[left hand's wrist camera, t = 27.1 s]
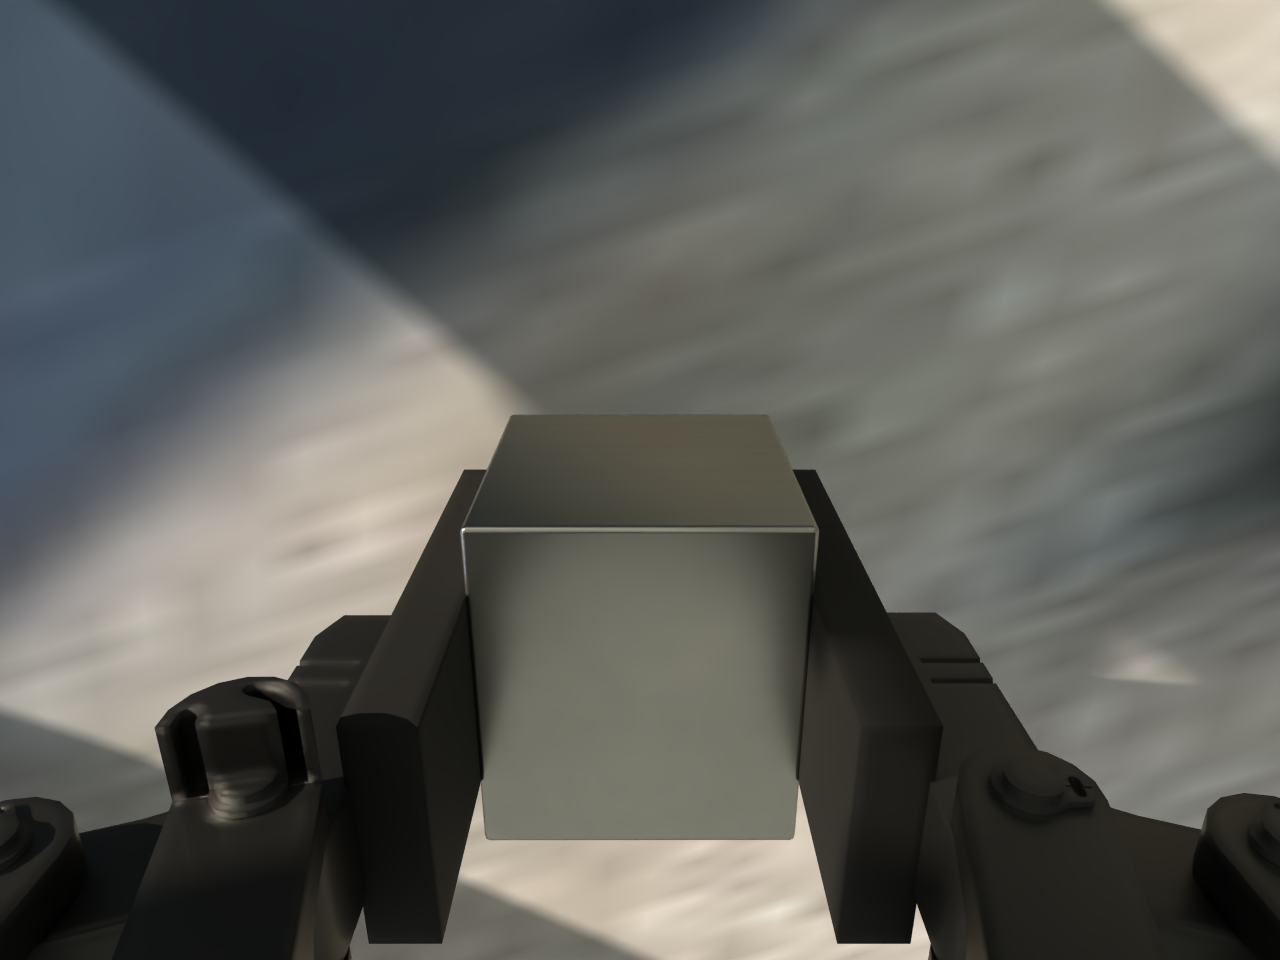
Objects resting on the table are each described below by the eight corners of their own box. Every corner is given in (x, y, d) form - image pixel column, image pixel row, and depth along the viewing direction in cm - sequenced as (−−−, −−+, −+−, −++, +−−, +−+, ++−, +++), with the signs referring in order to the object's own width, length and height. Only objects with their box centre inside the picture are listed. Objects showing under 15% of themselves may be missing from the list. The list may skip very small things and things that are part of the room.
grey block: (769, 413, 14) (821, 527, 10) (755, 660, 16) (795, 842, 12) (509, 413, 14) (458, 527, 10) (523, 660, 16) (484, 842, 12)
